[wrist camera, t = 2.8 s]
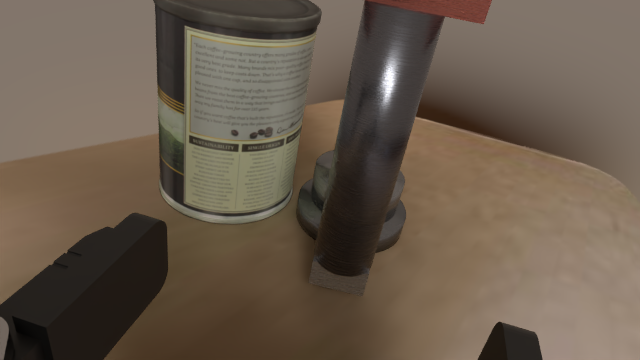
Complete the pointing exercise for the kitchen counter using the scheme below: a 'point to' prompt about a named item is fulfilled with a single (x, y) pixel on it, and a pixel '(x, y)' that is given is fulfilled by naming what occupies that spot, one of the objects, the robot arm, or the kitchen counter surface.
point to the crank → (375, 133)
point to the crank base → (312, 215)
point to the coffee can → (231, 103)
